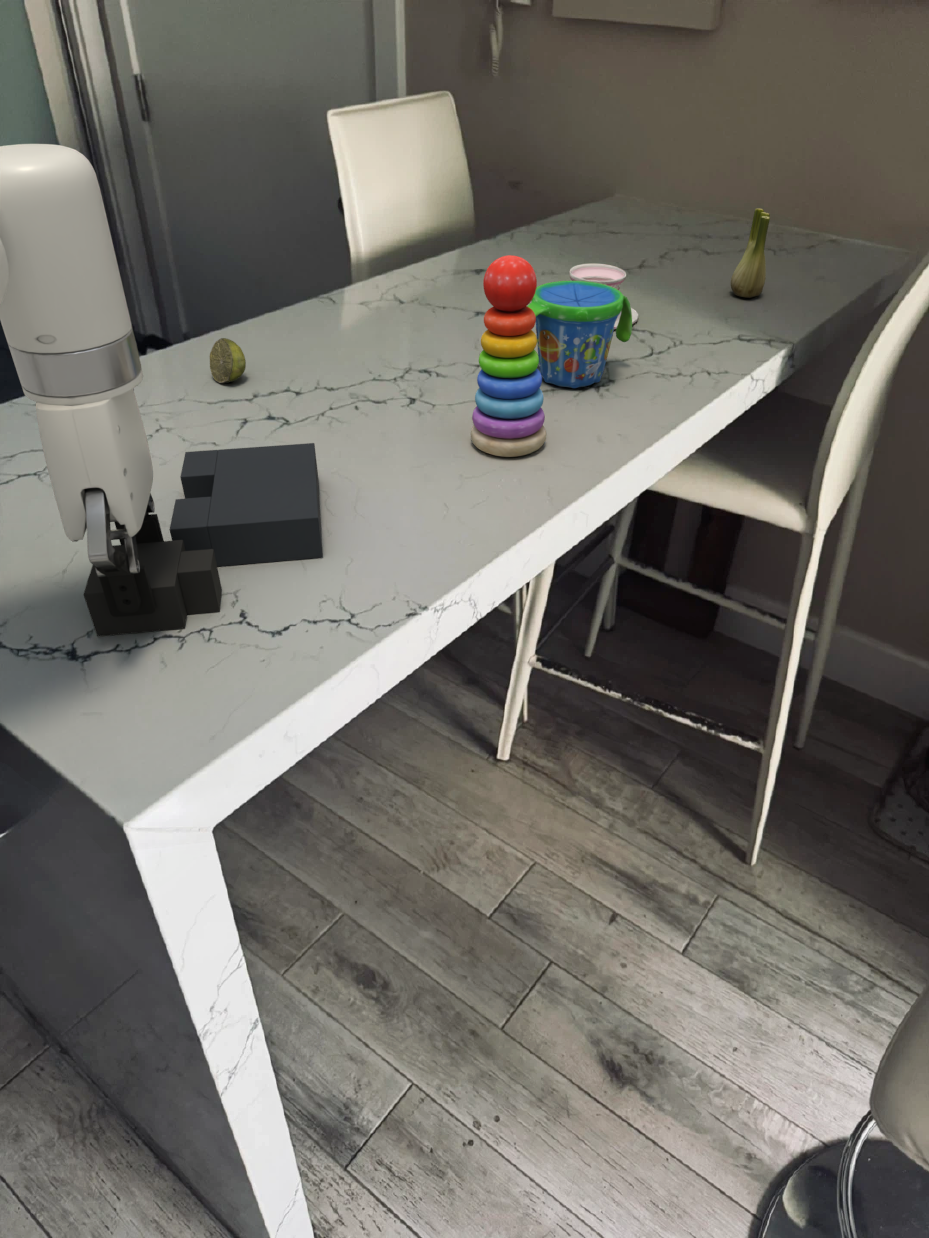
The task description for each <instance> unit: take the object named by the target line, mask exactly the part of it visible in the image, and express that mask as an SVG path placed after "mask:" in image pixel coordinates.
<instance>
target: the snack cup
mask: <svg viewBox="0 0 929 1238" xmlns="http://www.w3.org/2000/svg"><path fill="white" fill-rule="evenodd" d="M527 307H529V308H530V309H532V310H533V312H534V313H535V316H536V322H535V334H536V337H537V345H536V347H537V354H538V357H539V364H538V366H539V371H540V373H541V376H542V379H543V381H544V382H545V383H548V384H552V385H555V386H556V387H557V386H558V387H563V388H572V389H578V388H583V387H584V388H585V387H587V386H591V385H593V384H594V383H596V384H597V383H600V382H601V379H602V377H603V374H604V372H605V368H606V364H607V363H606V362H607V361H608V356H609V353H610V349H611V345H612V340H613V336H614V330H615V337H616V339H618V340H619V341H620V342H622V343H627V342H629V341H630V339H631V336H632V333H633V324H632V312H631V308H632V307H631V303H630V301H629V299H628V297H627V296H625V295H624V294H623V293H622V292H621V291H620V289H619V290H617V289H616V288H613V287H611V286H608V285H604V284H600V283H595V282H587V281H572V280H559V281H558V280H557V281H551V282H546V283H544V284H541V285H537V287H536V292H535V295H534V297H533V299H532V300H531V302H530V303H529V304H528V305H527ZM620 312H621V316H620V319H619V323H618V326H617V329H614V325H615V322H616V319H617V317H618V315H619V314H620Z"/></svg>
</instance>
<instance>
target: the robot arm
mask: <svg viewBox="0 0 929 1238" xmlns="http://www.w3.org/2000/svg"><path fill="white" fill-rule="evenodd" d="M101 191H102V190H101V188H100V184H99V181H98V176H97V173H96V171H95V169H94V167H93V165H92V163H91V162H90V160H89V159H88V158H87V157H86V156H85V155H84V154H83V153H82V152H79V151H78V150H77V149H75V148H72V147H68V146H66V145H59V144H52V143H19V144H9V145H0V323H1V327H2V330H3V333H4V337H5V339H6V342H7V345H8V349H9V351H10V354H11V357H12V361H13V363H14V367H15V370H16V373H17V376H18V379H19V382H20V385H21V388H22V391H23V394H24V397H26V398H28V399H29V400H30V401H33V402H34V403H35V413H36V419H37V427H38V431H39V432H38V433H39V438H40V442H41V447H42V452H43V456H44V460H45V464H46V469H47V473H48V476H49V480H50V484H51V487H52V488H51V489H52V491H53V495H54V498H55V502H56V506H57V511H58V514H59V517H60V520H61V524H62V529H63V531H64V534H65V536H66V538H67V539H68V540H70V541H71V542H72V543H76V542H79V541H82V540H84V537H85V535H86V545H87V558H88V561H89V563H90V564H91V565H92V566H94V567H96V573H97V575H98V577H99V579H100V582H101V585H102V588H103V592H104V595H105V598H106V601H107V605H108V608H109V611H110V614H111V615H112V616H113V617H124V616H135V615H146V614H153V613H154V612H155V609H156V604H155V600H154V597H153V593H152V589H151V586H150V582H149V578H148V574H147V571H146V567H145V565H141V566H140V563H139V556H138V550H137V544H139V543H151V542H162V541H165V540H164V537H163V533H162V528H161V524H160V519H159V516H158V514H157V513H155V510H156V509H155V507H156V506H155V501H154V498H153V495H152V493H151V492H152V488H153V482H154V466H153V461H152V455H151V450H150V446H149V442H148V441H149V440H148V436H147V433H146V429H145V425H144V422H143V418H142V415H141V410H140V407H139V404H138V400H137V397H136V396H137V395H136V393H135V388H136V387H138V386H139V385H140V384H141V383H142V381H143V379H144V373H143V372H144V371H143V368H142V363H141V358H140V355H139V350H138V346H137V342H136V337H135V332H134V328H133V325H132V320H131V315H130V311H129V308H128V304H127V299H126V296H125V295H126V294H125V290H124V286H123V281H122V277H121V274H120V269H119V264H118V260H117V256H116V251H115V248H114V244H113V239H112V235H111V234H112V233H111V230H110V226H109V222H108V218H107V213H106V209H105V205H104V200H103V196H102V192H101ZM153 513H154V514H153ZM111 523H114V526H115V529H111V528H112V527H111ZM115 540H116V541H117V540H119V545H125V548H126V554H127V556H126V555H125V554H124V553H122V552H121V551H119V552H115V549H114V548H113V546H114V545H113V543H112V542H113V541H115Z"/></svg>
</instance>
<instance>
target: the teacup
mask: <svg viewBox="0 0 929 1238" xmlns="http://www.w3.org/2000/svg"><path fill="white" fill-rule="evenodd" d="M568 276H569V278H570V281H587V282H595V283H600V284H604V285H608V286H611V287H613V288H616V289H617V290H619V291H620V289H621V287H620V285H622V284H623V283H624V281H625V280H626V277H627V272H626V271H625V270H624V269H622V268H620V267H618V266H614V265H612V264H611V265H610V264H604V263H582V264H576V265H574V266H572V267H571V268H570V269H569V275H568ZM631 312H632V325H634V324H635V323H636V322H638V320H639V312H638V311H637V310H636V309H634V308H633V307H631ZM620 316H621V312H620V314H619V315H618V317H617V319H616V322H615V325H614V330H616V329H617V326H618V323H619V319H620Z"/></svg>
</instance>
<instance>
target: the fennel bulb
mask: <svg viewBox="0 0 929 1238" xmlns="http://www.w3.org/2000/svg"><path fill="white" fill-rule="evenodd" d="M770 220H771V214H770V213H768V212H765V210H764V209H763V208H760V207H759V208H756V207H755V209H754V213H753V216H752V221H751V227H750V232H749V238H748V241H747V243H746V244H747V245H746V248H745V251H744V253H743V254H742V257H741V259H740V261H739V263H738V264H737V266H736V267H735V269H734V271H733V273H732V276H731V278H730V289H731V291H732V293H733V294H734V295H735V296H737V297H740V298H754V297H758V296H760V295H761V294H762V293H763V290H764V287H765V283H766V279H767V278H766V277H767V276H766V275H767V274H766V272H767V270H766V269H767V267H766V256H765V254H766V253H765V247H766V241H767V234H768V230H769V225H770Z"/></svg>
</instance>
